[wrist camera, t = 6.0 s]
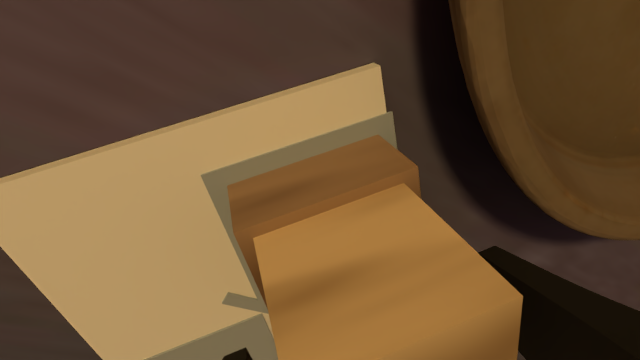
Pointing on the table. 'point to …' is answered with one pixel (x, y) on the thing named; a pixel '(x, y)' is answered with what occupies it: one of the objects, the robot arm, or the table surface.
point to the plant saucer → (560, 103)
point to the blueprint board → (174, 221)
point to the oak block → (384, 287)
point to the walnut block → (314, 190)
